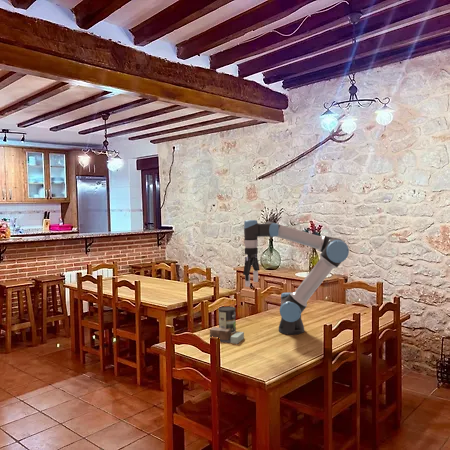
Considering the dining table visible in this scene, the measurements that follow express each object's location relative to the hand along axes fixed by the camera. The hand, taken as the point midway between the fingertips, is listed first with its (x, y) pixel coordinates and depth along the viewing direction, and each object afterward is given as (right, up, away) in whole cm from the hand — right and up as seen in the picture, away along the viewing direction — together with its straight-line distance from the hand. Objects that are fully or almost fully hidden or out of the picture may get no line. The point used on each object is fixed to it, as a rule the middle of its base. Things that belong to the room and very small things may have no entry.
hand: (251, 284), depth 248 cm
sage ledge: (-8, -31, -4) cm, 33 cm away
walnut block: (-13, -28, -2) cm, 31 cm away
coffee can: (-14, -31, +13) cm, 36 cm away
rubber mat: (-16, -31, -1) cm, 35 cm away
